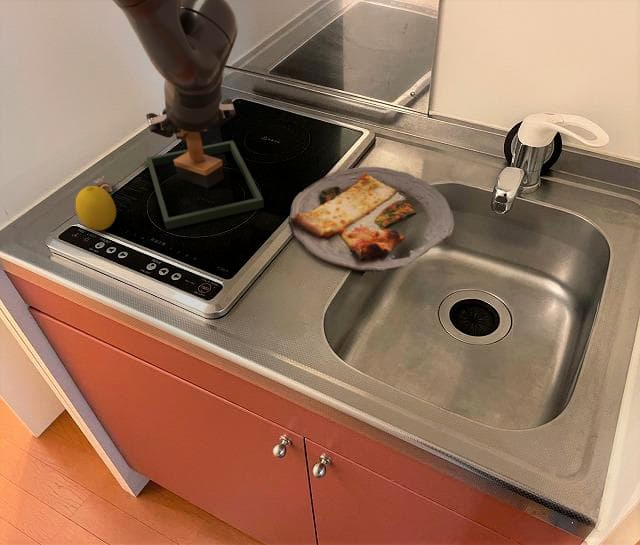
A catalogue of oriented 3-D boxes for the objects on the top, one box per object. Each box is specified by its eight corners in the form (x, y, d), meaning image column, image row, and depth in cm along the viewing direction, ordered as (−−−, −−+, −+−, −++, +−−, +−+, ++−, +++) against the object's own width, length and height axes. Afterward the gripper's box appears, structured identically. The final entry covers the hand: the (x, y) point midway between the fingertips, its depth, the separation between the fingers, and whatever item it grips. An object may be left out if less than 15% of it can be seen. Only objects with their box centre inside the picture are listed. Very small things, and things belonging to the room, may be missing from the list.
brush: (177, 178, 98) (162, 114, 91) (194, 167, 101) (181, 105, 93) (208, 189, 95) (196, 124, 87) (225, 178, 97) (214, 114, 90)
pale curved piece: (108, 190, 97) (101, 170, 94) (116, 195, 96) (109, 174, 93) (93, 198, 95) (86, 178, 92) (101, 203, 94) (94, 183, 91)
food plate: (364, 303, 77) (365, 284, 74) (259, 224, 90) (257, 205, 87) (478, 224, 89) (483, 206, 86) (371, 164, 101) (372, 147, 99)
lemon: (129, 225, 90) (115, 183, 84) (102, 245, 86) (86, 202, 81) (104, 214, 92) (90, 172, 86) (77, 233, 89) (60, 190, 83)
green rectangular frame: (264, 211, 92) (263, 199, 90) (167, 234, 88) (164, 221, 86) (234, 151, 105) (233, 140, 104) (149, 169, 102) (146, 157, 100)
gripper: (235, 61, 80) (225, 104, 97) (134, 77, 76) (142, 119, 93) (249, 113, 80) (237, 147, 97) (148, 132, 76) (154, 164, 93)
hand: (190, 133), depth 95 cm, fingers closed on brush, 2 cm apart
